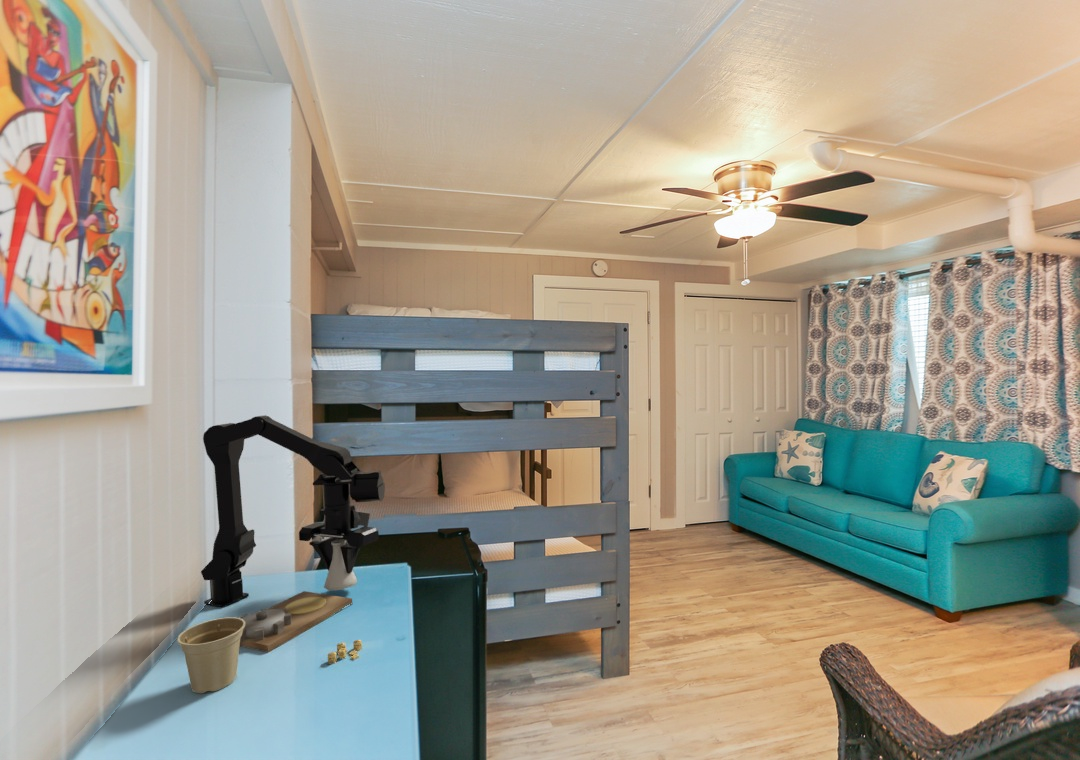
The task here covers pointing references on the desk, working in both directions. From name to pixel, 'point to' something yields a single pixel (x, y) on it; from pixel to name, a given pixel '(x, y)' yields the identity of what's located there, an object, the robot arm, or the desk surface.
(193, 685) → the flower pot
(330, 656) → the dice set
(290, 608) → the gear board
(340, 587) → the flask
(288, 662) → the desk surface
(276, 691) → the desk surface
